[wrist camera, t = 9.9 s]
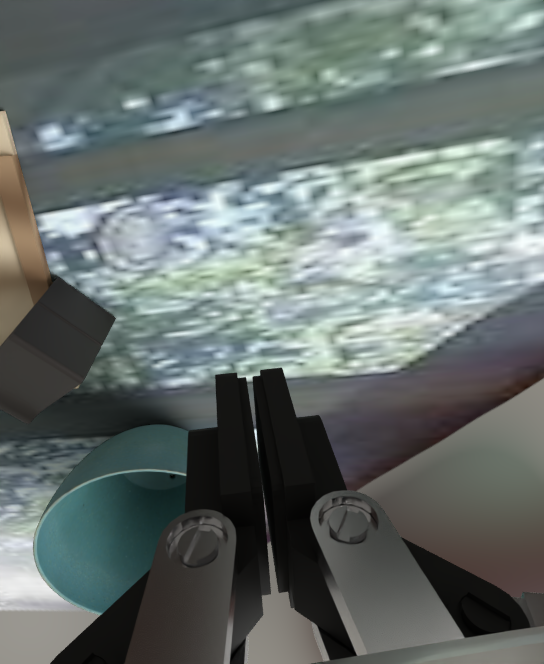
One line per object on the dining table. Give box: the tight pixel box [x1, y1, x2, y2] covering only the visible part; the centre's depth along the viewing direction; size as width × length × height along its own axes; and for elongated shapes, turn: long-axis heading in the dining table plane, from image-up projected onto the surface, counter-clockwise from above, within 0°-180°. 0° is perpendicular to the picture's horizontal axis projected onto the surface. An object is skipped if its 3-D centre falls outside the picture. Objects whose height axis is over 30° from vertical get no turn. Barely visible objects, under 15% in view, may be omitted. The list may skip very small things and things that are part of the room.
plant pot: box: [33, 425, 189, 615], centre depth 46 cm, size 18×18×12 cm
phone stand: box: [0, 277, 116, 424], centre depth 41 cm, size 9×6×12 cm
